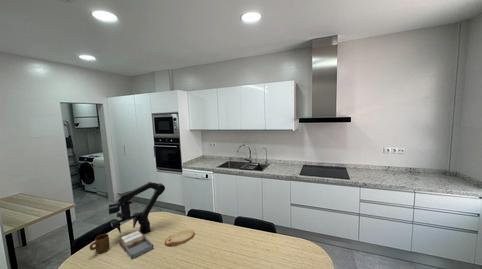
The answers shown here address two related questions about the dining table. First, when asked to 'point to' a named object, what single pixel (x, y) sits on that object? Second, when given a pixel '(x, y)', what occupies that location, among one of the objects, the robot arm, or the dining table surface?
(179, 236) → the slice of bread
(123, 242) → the board
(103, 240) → the mug
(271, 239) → the dining table surface
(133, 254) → the tray
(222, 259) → the dining table surface
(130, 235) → the tile
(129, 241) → the tile
